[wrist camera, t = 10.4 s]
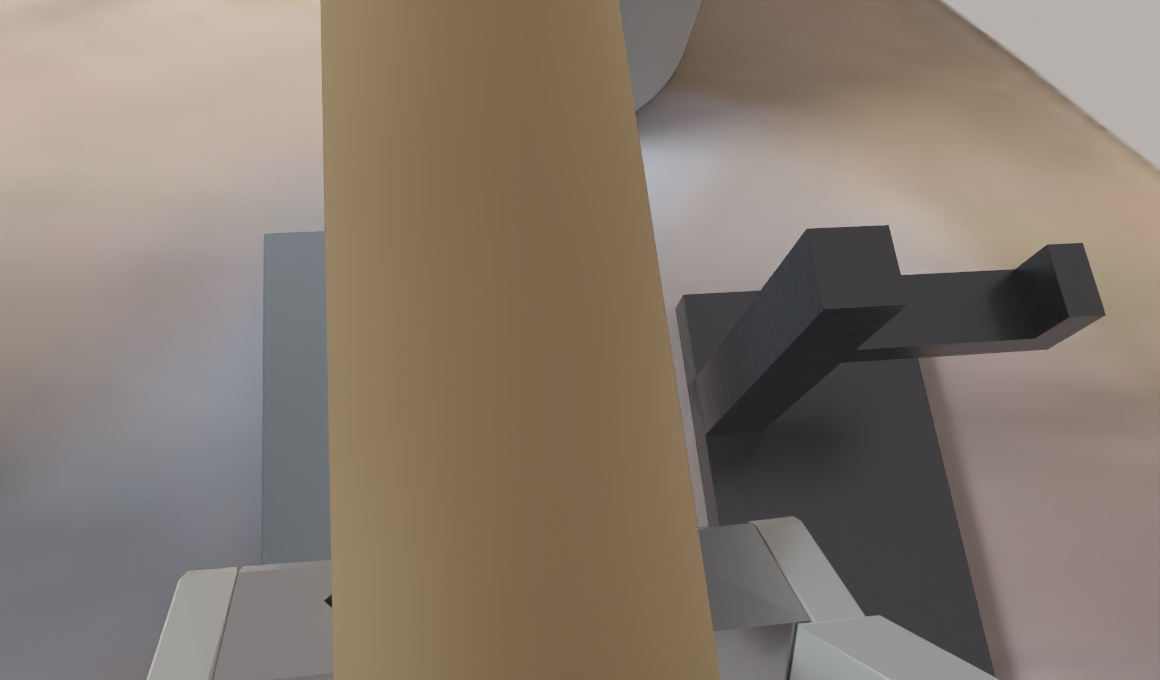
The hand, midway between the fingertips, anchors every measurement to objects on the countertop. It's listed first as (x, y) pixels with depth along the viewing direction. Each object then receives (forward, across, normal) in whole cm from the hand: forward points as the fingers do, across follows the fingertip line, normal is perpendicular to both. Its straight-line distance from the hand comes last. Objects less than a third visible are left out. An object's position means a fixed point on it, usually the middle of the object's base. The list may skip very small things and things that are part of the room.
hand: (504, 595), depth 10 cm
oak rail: (0, 0, +1) cm, 1 cm away
